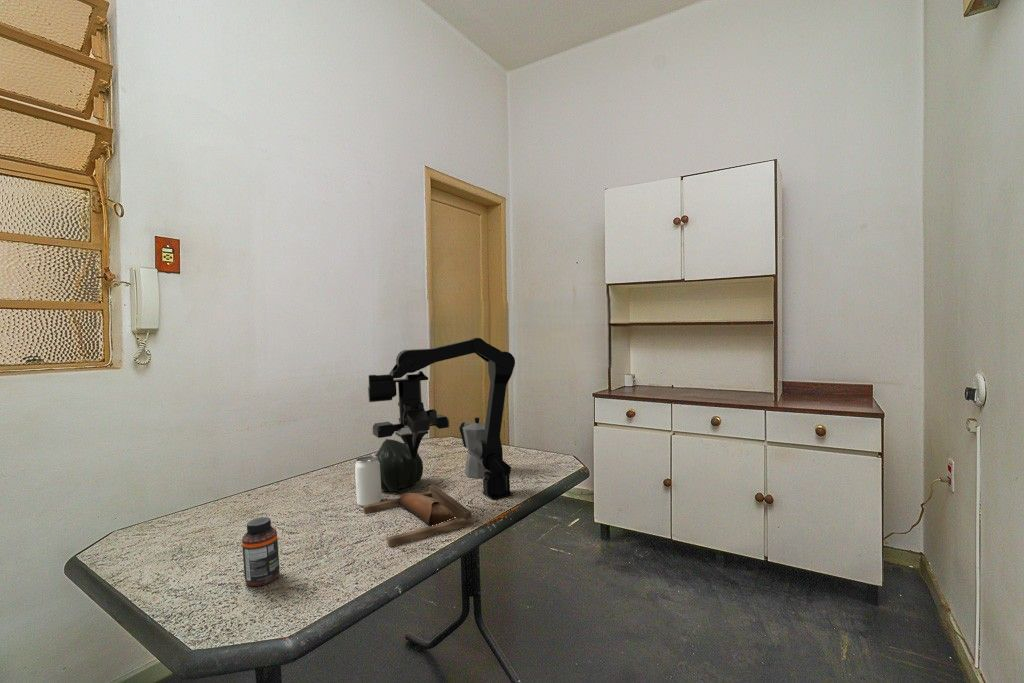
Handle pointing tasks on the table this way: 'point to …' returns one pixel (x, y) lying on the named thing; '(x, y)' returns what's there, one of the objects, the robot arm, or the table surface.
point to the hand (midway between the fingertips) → (413, 458)
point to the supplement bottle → (260, 552)
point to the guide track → (445, 500)
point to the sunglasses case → (425, 508)
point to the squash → (398, 466)
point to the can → (368, 480)
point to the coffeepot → (472, 447)
